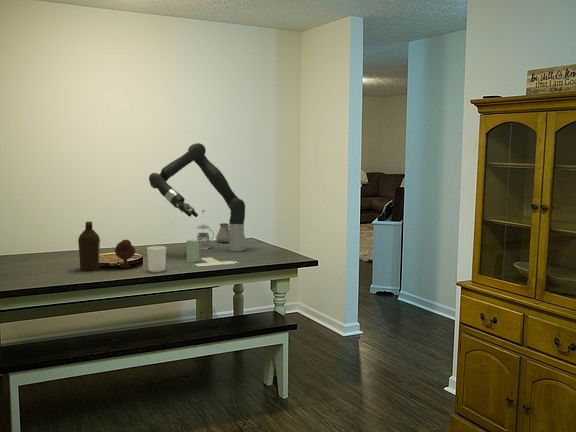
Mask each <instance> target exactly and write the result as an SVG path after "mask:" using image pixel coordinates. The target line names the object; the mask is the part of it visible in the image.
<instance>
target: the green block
mask: <svg viewBox="0 0 576 432" xmlns="http://www.w3.org/2000/svg"><path fill="white" fill-rule="evenodd" d="M199 243H200V242H199V240H197V239H187V240H186V263H187V262H188V263H194V264H195V263H197V262H200V249H199V245H200V244H199Z"/></svg>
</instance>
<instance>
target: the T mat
mask: <svg viewBox="0 0 576 432" xmlns="http://www.w3.org/2000/svg"><path fill="white" fill-rule="evenodd" d="M199 260H203V261H204V262H201V263H194V265H195V266H196V267H209V266H223V265H233V264H234V265H235V263H237V262H238V261H236V260H228V261H227V260H226V261H220V260H217V259H215V258H213V257H202V258H201V257H199ZM233 261H234V262H233ZM237 264H238V263H237Z"/></svg>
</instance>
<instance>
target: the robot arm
mask: <svg viewBox="0 0 576 432" xmlns="http://www.w3.org/2000/svg"><path fill="white" fill-rule="evenodd" d="M206 150H207V149H206V147H205V145H204V144H202V143H201V142H200V143H193V144H191V145H189V147H188V149H187V152H185V153H184V154H183V155H181V156H180V157H177V158H176V159H175V160H172V162H169V163H168V164H167V165H165V166H164V167H162V169H161V170H160V173H157V172H151V174H150V175H149V177H148V180H149V184H150V186H151V188H152V189H157V190H158V191H159V193H160V195H162V196H163V197H164V198H165V199H166V201H167V202H169V203H170V204H171V205H172V206H173V207H174V208H176V209H178V210H179V211H180V212H182V213H184V214H185V215H186V216H188V217H192V216H193V217H195V218H197V217H198V216H199V213H197V212H196V211H195V208H193V207H192V206H191V204H189V203H187V202H185V201H186V199H185V198H184V197H183V195H181V194H180V193H179V192H178V191H177V190H176V189H174V187H172V186H171V185H170V184H169V183H168V182H167V181H168V180H170V178H172V177H174V176H175V175H176V174H177V173H178V172H180V171H181V170H183V169H184V168H185V167H187V166H188V165H190V164H191V163H193V162H194V163H195V164H196V165H197V166H198V168H199V169H200V170H201V171H202V173H203V174H204V176H205V177H206V179H207V181H209V183H210V184H211V185H212V187H214V189H215V190H216V192H217V193H219V195H220V196H221V197H222V198H223V200H224V202H225V203H226V205H227V207H228V208H229V210H230V216H229V217H230V218H229V223H228V224H229V225H228V227H229V243H228V245H229V246H228V250H229V251H230V250H231V251H232V252H243V251H245V250H246V235H245V219H246V204H245V201H244V200H243V199H241V198H239V197H238V196H237V195H236V194H235V192H234V191H233V190H232V188H231V187H230V184H229V182H228V180H227V179H226V177H225V175H224V173H222V171H220V169H219V168H218V167H217V166H216V165H215V164H213V163H212V162H211V161H210V160H209V159H208V157H207V156H206V155H205V154H206ZM242 250H243V251H242ZM231 251H230V252H231Z"/></svg>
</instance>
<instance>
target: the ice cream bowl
mask: <svg viewBox="0 0 576 432" xmlns="http://www.w3.org/2000/svg"><path fill="white" fill-rule="evenodd" d="M114 253H115V255H116V256H117V257H118V258H119V259H121V260H122V261H123V264H120V265H119V268H122V269H127V268H131V265H130V264H128V260H129V259H131V258H132V257H133V256H135V254H136V248H135V246H134V245H132V242H131V241H130V239H122V240H121V241H120V242H118V243H117V244H116V246H115V248H114Z"/></svg>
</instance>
